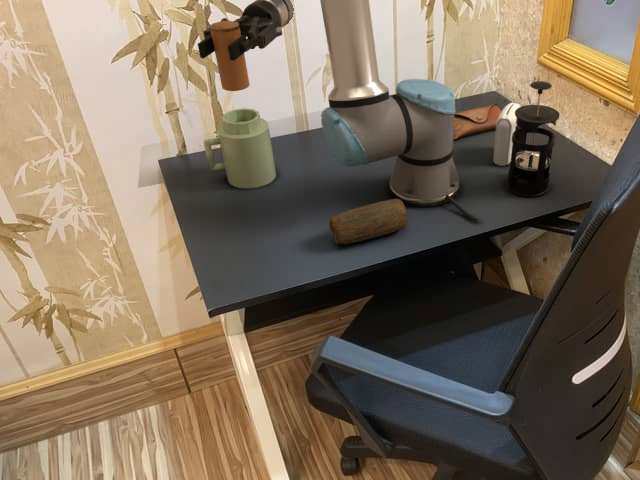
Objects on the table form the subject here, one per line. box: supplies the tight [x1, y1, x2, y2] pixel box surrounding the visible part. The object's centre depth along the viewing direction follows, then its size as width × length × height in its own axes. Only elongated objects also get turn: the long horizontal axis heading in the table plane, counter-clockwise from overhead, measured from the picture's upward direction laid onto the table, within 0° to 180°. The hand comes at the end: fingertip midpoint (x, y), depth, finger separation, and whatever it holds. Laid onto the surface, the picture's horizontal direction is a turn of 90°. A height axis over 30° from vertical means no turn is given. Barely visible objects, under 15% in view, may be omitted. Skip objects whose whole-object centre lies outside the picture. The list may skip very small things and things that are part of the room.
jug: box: [203, 107, 277, 189], centre depth 137 cm, size 11×14×14 cm
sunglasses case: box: [453, 103, 502, 140], centre depth 159 cm, size 18×7×7 cm, turn 118°
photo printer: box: [492, 102, 522, 167], centre depth 144 cm, size 10×4×12 cm, turn 157°
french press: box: [505, 80, 561, 198], centre depth 130 cm, size 12×9×23 cm
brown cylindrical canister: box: [209, 20, 251, 92], centre depth 124 cm, size 6×6×12 cm
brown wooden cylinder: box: [328, 198, 408, 245], centre depth 121 cm, size 15×7×7 cm, turn 117°
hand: (215, 52), depth 119 cm, fingers closed on brown cylindrical canister, 6 cm apart
